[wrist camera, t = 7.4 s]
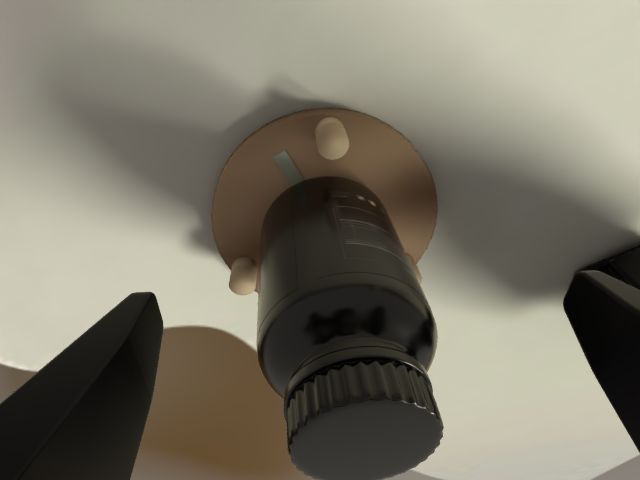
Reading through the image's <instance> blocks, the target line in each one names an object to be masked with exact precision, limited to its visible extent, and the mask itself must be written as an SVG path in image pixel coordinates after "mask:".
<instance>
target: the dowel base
mask: <svg viewBox="0 0 640 480" xmlns="http://www.w3.org/2000/svg"><path fill="white" fill-rule="evenodd" d="M322 176H337V177H343V178H348V179H351V180H354V181H356V182H358V183H361V184H362V185H364V186H366V187H367V188H368V189H370V190H371V191H372V192H373V193H374V194H376V196H377V197H378V198H379V199H380V201H381V202H382V204H383V205H384V207H385V209H386V211H387V213H388V215H389V217H390V219H391V221H392V223H393V225H394V228H395V230H396V232H397V234H398V237H399V239H400V241H401V243H402V246H403V248H404V250H405V252H406V255H407V257H408V259H409V261H410V263H411V266H412V268H413V270H414V272H415V275H416V277H417V279H418V281H419V284H420V283H421V281H422V277H421V275H420V272H419V270H418V268H417V265H416V264H417V262H418V261H419V260H420V259H421V257H422V255H423V254H424V252H425V250H426V249H427V247H428V245H429V242H430V240H431V238H432V235H433V232H434V228H435V225H436V217H437V196H436V190H435V186H434V183H433V180H432V177H431V174H430V172H429V170H428V168H427V166H426V164H425V163H424V161H423V160H422V158H421V157H420V155H419V154H418V152H417V151H416V150H415V148H414V147H413V146H412V144H411V143H410V142H409V141H408V140H407V139H406V138H405V137H404V136H403V135H402V134H401V133H399V132H398V131H397V130H395V129H394V128H392V127H391V126H390V125H388V124H386V123H384V122H382V121H381V120H379V119H377V118H375V117H372V116H369V115H366V114H363V113H360V112H356V111H351V110H346V109H334V108H322V109H310V110H305V111H300V112H295V113H292V114H289V115H286V116H283V117H280V118H278V119H276V120H274V121H272V122H270V123H268V124H266V125H264V126H263V127H262V128H260V129H259V130H257V131H256V132H254V133H253V134H251V135H250V136H249V137H248V138H247V139H246V140H245V141H244V142H243V143H241V145H240V146H239V147H238V148H237V149H236V150H235V152H234V153H233V154H232V155H231V157H230V159H229V160H228V162H227V163H226V165H225V167H224V169H223V171H222V173H221V176H220V178H219V181H218V184H217V187H216V191H215V195H214V199H213V204H212V215H211V217H212V229H213V234H214V239H215V242H216V245H217V247H218V250H219V252H220V254H221V256H222V258H223V259H224V261H225V263H226V264H227V266H228V267H229V268H230V269H231V275H230V281H229V287H230V289H231V291H232V292H234V293H235V294H238V295H248V294H250V293H252V292H253V291H256V292H257V293H258V291H259V261H260V238H261V228H262V223H263V219H264V217H265V214H266V212H267V210H268V209H269V207H270V206H271V204H272V203H273V202H274V200H275V199H276V198H277V197H278V196H279V195H280V194H281V193H283V192H284V191H285V190H286V189H288V188H289V187H291V186H293V185H295V184H297V183H299V182H301V181H304V180H307V179H310V178H315V177H322Z"/></svg>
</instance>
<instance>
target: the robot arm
mask: <svg viewBox="0 0 640 480" xmlns="http://www.w3.org/2000/svg"><path fill="white" fill-rule="evenodd" d="M563 306H564V310H565V313H566V315H567V317H568V319H569V321H570V324H571V326H572V328H573V330H574V332H575V335H576V337H577V339H578V341H579V343H580V346H581V348H582V350H583V352H584V354H585V357H586V359H587V361H588V363H589V365H590V367H591V369H592V371H593V373H594V375H595V377H596V378H597V380H598V382H599V384H600V386H601V387H602V389H603V391H604V392H605V394H606V396H607V398H608V399H609V401H610V403H611V404H612V406H613V408H614V410H615V411H616V413H617V415H618V416H619V418H620V420H621V422H622V423H623V425H624V427H625V428H626V430H627V432H628V434H629V435H630V437H631V439H632V440H633V442H634V444H635V446H636V447H637V449H638V451H639V452H640V246H637V247H635V248H633V249H630V250H628V251H625V252H623V253H620V254H618V255H616V256H613V257H611V258H608V259H606V260H603V261H601V262H599V263H596V264H594V265H591V266H589V267H586V268H584V269H582V270H580V271H578V272H577V273H576V274H575V275H574V277H573V279H572V281H571V284H570V286H569V288H568V290H567V293H566V295H565V297H564V301H563ZM162 335H163V320H162V316H161V313H160V310H159V306H158V303H157V299H156V296H155V295H154V293H152V292H136V293H132V294H130V295H129V296H128V297H126V298H125V299H124V300H123V301H122V302H120V303H119V304H118V305H117V306H116V307H114V308H113V309H112V310H111V311H110V312H109V313H107V314H106V315H105V316H104V317H103V318H101V319H100V320H99V321H98V322H97V323H95V324H94V325H93V326H92V327H91V328H89V329H88V330H87V331H86V332H85V333H84V334H82V335H81V336H80V337H79V338H78V339H76V340H75V341H74V342H73V343H72V344H70V345H69V346H68V347H67V348H66V349H64V350H63V351H62V352H61V353H60V354H59V355H57V356H56V357H55V358H54V359H53V360H51V361H50V362H49V363H48V364H47V365H45V366H44V367H43V368H42V369H41V370H39V371H38V372H37V373H36V374H35V375H34V376H32V377H31V378H30V379H29V380H28V381H26V382H25V383H24V384H23V385H22V386H21V387H19V388H18V389H17V390H16V391H14V392H13V393H12V394H11V395H10V396H9V397H7V398H6V399H5V400H4V401H3V402H1V403H0V480H130V477H131V474H132V470H133V467H134V463H135V459H136V456H137V453H138V449H139V446H140V442H141V438H142V435H143V432H144V428H145V424H146V421H147V417H148V414H149V410H150V406H151V402H152V397H153V392H154V386H155V379H156V373H157V367H158V361H159V354H160V348H161V342H162Z"/></svg>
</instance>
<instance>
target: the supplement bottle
mask: <svg viewBox="0 0 640 480" xmlns="http://www.w3.org/2000/svg"><path fill="white" fill-rule="evenodd" d="M437 338H438V337H437V327H436V322H435V319H434V317H433V314H432V311H431V308H430V306H429V304H428V301H427V299H426V297H425V295H424V292H423V290H422V288H421V286H420V284H419V281H418V279H417V277H416V275H415V272H414V270H413V268H412V266H411V263H410V261H409V259H408V257H407V255H406V252H405V250H404V248H403V246H402V243H401V241H400V239H399V237H398V234H397V232H396V230H395V228H394V225H393V223H392V221H391V219H390V217H389V215H388V213H387V211H386V209H385V207H384V205H383V204H382V202H381V201H380V199H379V198H378V197H377V196H376V194H374V193H373V192H372V191H371V190H370V189H368V188H367V187H366V186H364V185H362V184H361V183H358V182H356V181H354V180H351V179H348V178H343V177H337V176H322V177H315V178H310V179H307V180H304V181H301V182H299V183H297V184H295V185H293V186H291V187H289V188H288V189H286V190H285V191H284V192H283V193H281V194H280V195H279V196H278V197H277V198H276V199H275V200H274V202H273V203H272V204H271V206H270V207H269V209H268V210H267V212H266V214H265V217H264V219H263V223H262V228H261V238H260V261H259V291H258V320H257V357H258V362H259V366H260V369H261V371H262V374H263V376H264V377H265V379H266V381H267V382H268V384H269V385H270V386H271V388H272V389H273V390H274V391H275V392H276V393H277V394H278V395H279V396H280V397H281V398H283V399H284V417H285V420H286V422H287V445H288V452H289V455H290V457H291V461H292V463H293V464H295V465H296V467H297V469H298V470H300V471H303V472H304V474H305V475H308V476H311V477H313V478H314V479H318V480H382V479H385V478H390V477H393V476H395V475H397V474H401V473H404V472H406V471H408V470H409V469H411V468H414V467H416V466H417V465H418V464H419V463H421V462H423V461H425V460H426V459H427V457H428V456H429V455H431V454H432V453H434V451H435V448H436V447H438V446H439V445H440V440H441V438H442V437H443V432H442V431H443V428H444V427H443V422H442V419H441V416H440V413H439V410H438V407H437V404H436V402H435V399H434V396H433V389H432V385H431V382H430V379H429V377H428V374H427V372H428V370H429V368H430V366H431V364H432V362H433V359H434V356H435V352H436V348H437Z"/></svg>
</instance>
